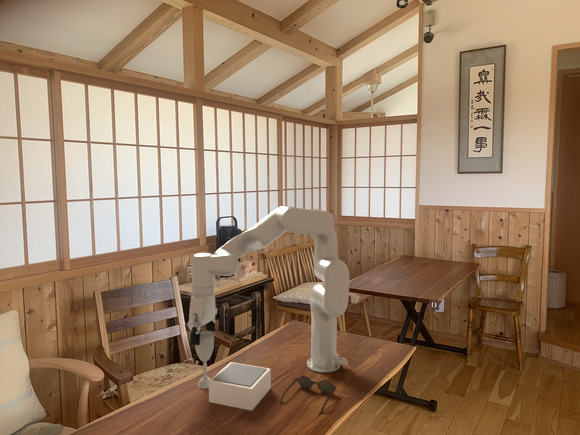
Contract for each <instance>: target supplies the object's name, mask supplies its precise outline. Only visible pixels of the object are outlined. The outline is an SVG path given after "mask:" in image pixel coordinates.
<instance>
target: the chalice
mask: <svg viewBox="0 0 580 435" xmlns="http://www.w3.org/2000/svg"><path fill="white" fill-rule="evenodd" d="M199 333H200V345H194V346H195V352H196V355H197V356H198V358H199V360H200V361H201V362H202V364H203V365H202V368H203V370H202V373H203V376H202V377H201V378H200V379H199V381H198V385H197V388H199V389H204V390H205V389H206V390H207V389H209V380H211V379H212V378H210V377H209V376H208V375H207V373H208V372H209V371H208V369H207V368H208V363H207V361H209V360H210V359H211V356H212V354H213V352H214V348H215V336H216V331H215V332H212V331H206V330H202V331H199Z"/></svg>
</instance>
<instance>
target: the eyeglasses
mask: <svg viewBox="0 0 580 435" xmlns="http://www.w3.org/2000/svg"><path fill="white" fill-rule="evenodd" d="M296 382H298V384H299V386H300V387H301V388H304V389H307V390H310V389H312V387H313V385H315V384H316V386H317V388H318V389H319V391H320V392H321V393H328V394H329V395H328V397H327V399H326V400H325V402H324V403H323V405H322V408H321V410H320V412H318V413H317V416H319V415H321V414H322V413H323V411H324V409H325V407H326V405H327V403H328V401H329V400H330V399H331V397H332V396H333V394H334V393H335V392H336V389H337V385H334V384H333V383H332V382H331V381H330V380H327V379H322V380H320V381H319V382H318V381H314V380H313V381H312V380H311V379H310V377H308V376H306V375H303V374H302V375H300V376H299V377H296V378H295V379H294V380H293V381H292V382H291V384H289V385H288V387H286V389H285V390H284V391H283V393H282V395H281V398H280V401H279V402H280V403H279V404H280V407H282V402H283V399H284V396H285V394H286V393H287V392H288V391H289V390H290V388H291V387H292V386H293V385H294V384H295V383H296Z"/></svg>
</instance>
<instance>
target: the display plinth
mask: <svg viewBox="0 0 580 435" xmlns="http://www.w3.org/2000/svg"><path fill="white" fill-rule="evenodd" d="M271 370H272V369H271V368H270V367H264V366H256V365H249V364H246V363H245V364H244V363H238V362H232V361H230V362H229V363H228V364H227V365H226V366H224V367H223V368H222V369H221V370H220V371H219V372H218V373H216V374H215V375H214V376H213V377H212V378H210V379H211V380H209V388H208V403H213V404H217V405H221V406H222V405H223V406H226V407H232V408H237V409H243V410H246V411H253V410H254V409H255V408H256V406H258V404H260V402H261V401H262V400H263V398H264V397H265V396H266V395H267V393H268V392H269V391H270V390H271V387H272V386H271V385H272V384H271V381H272V380H271V376H272V375H271V372H272V371H271Z"/></svg>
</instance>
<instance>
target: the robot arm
mask: <svg viewBox="0 0 580 435" xmlns="http://www.w3.org/2000/svg"><path fill="white" fill-rule="evenodd" d="M335 224H336V223H335V218H334V216H333V214H331V213H330V212H328V211H326V210H323V209H322V210H320V209H318V208H299V207H294V206H291V205H290V206H289V205H281V206H279V207H277V208H276V209H274V210H273V211H271V212H270V213H269V214H268V215H266V216H265V217H263V218H262V219H261V220H260V221H259V222H257V223H256V224H255V225H254V226H252V227H251V228H249V229H247V230H245V231H244V232H242V233H240V234H238V235H236V236H234V237H232V238H231V239H230V240H228V241H227V242H226V243H224V245H222V246H220V247H219V248H218V249H217V250H216V251H215V252H214V253H213V254H212V253H210V252H209V253H208V252H200V253H195V254H194V255H193V256H192V258H191V298H190V303H189V311H188V312H189V315H188V322H187V327H188V331H189V333H190V344H191V345H194V346H195V345H200V333H199V332H200V330H201V328H202V327H204V326H205V331H212V332H215V333H216V322H217V320H216V319H217V313H218V308H217V307H216V297H215V293H216V291H215V290H216V288H215V287H216V280H215V279H216V276H221V277H222V276H223V277H229V276H233V275H235V274H237V272H238V271H239V270H240V261H239V259H240V258H242V257H243V256H245V255H247V254H248V253H250V252H254V251H257V250H258V251H260V250H263V249H266V248H267V247H269V246H271V244H273V242H274V241H276V240H278V238H280V237H281V236H282V235H284V234H285V233H286V232H290V233H295V234H302V235H303V234H304V235H311V236H312V238H313V241H314V244H313V245H314V253H313V254H314V258H313V273H314V275H315V277H316V278H317V279H319V280H320V281H323V282H319V283H317V284H315V285H314V286H313V287H311V290H310V292H309V304H310V306H309V307H310V313H311V317H310V318H311V322H310V323H311V325H310V326H311V328H310V329H311V331H310V332H311V335H310V337H311V338H310V342H311V344H310V358H309V359H308V360H307V361H306V366H307V368H308V369H310V370H311V371H312V372H318V373H324V374H325V373H332V372H336V371H338V370H339V369H340V368H341V366H345V367H347V366H348V360H346V358H345V357H340V356H339V353H338V352H337V342H338V341H337V337H338V336H337V335H338V334H337V331H338V328H337V327H338V326H337V325H338V319H337V318H338V317H339V316H341V315H343V314H344V313H345V312H346V310H347V308H348V305H349V298H350V297H349V294H350V271H349V267H348V266H347V264H346V263H345V262H344V261H343V260H341V259H339V257H338V256H339V255H338V251H339V250H338V247H339V246H338V236H337V232H336V230H335Z"/></svg>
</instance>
